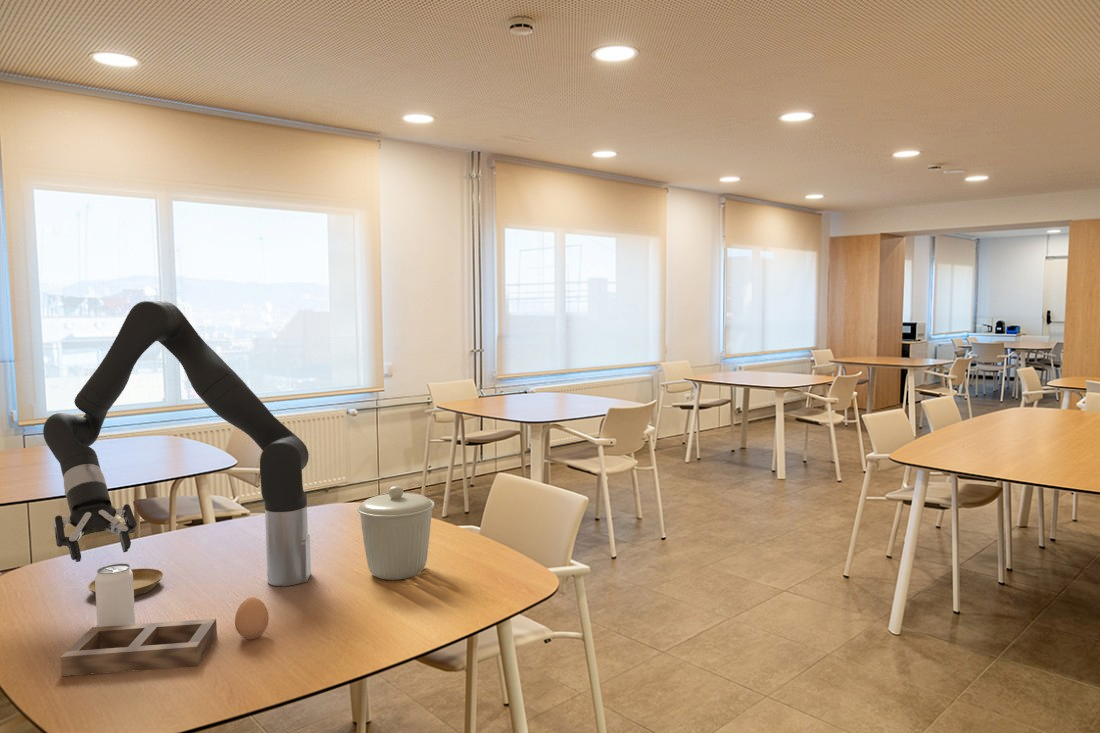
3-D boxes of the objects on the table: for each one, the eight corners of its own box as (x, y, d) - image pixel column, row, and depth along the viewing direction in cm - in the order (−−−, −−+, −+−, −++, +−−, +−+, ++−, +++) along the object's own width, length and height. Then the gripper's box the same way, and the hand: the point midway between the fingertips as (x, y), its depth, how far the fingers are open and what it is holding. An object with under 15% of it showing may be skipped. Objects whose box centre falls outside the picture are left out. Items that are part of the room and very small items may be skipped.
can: (108, 636, 141) (105, 576, 140) (91, 629, 145) (87, 570, 144) (141, 624, 147) (139, 566, 146) (124, 617, 150) (121, 560, 149)
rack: (216, 636, 141) (216, 618, 141) (197, 665, 129) (196, 646, 129) (93, 645, 138) (92, 627, 137) (61, 676, 126) (60, 656, 125)
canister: (381, 593, 162) (379, 499, 161) (345, 571, 176) (342, 485, 174) (450, 573, 174) (448, 486, 173) (411, 555, 188) (409, 474, 186)
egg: (258, 646, 137) (256, 605, 136) (229, 643, 138) (227, 603, 137) (275, 632, 143) (274, 592, 142) (247, 630, 144) (245, 591, 143)
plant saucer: (130, 606, 157) (129, 594, 156) (72, 601, 160) (71, 589, 159) (178, 581, 171) (178, 570, 171) (124, 577, 174) (123, 566, 174)
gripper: (48, 486, 150) (64, 553, 143) (126, 475, 160) (144, 537, 153) (45, 506, 155) (60, 573, 147) (120, 494, 165) (138, 556, 157)
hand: (103, 554), depth 150 cm, fingers open, 8 cm apart
